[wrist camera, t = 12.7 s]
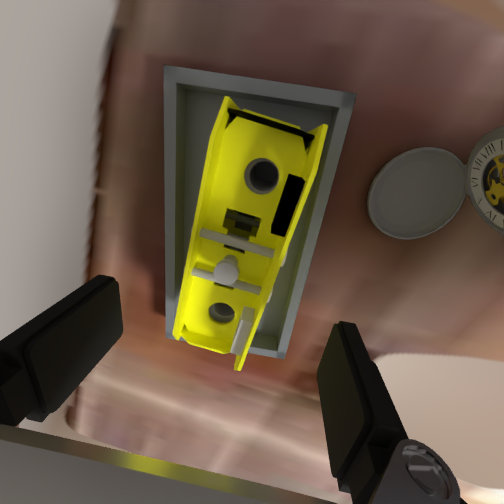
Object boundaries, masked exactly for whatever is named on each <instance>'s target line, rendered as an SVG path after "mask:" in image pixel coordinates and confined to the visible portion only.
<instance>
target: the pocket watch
mask: <svg viewBox="0 0 504 504" xmlns="http://www.w3.org/2000/svg"><path fill="white" fill-rule="evenodd" d="M503 160H504V126H501V127H499V128H496V129H494V130H492V131H491V132H489V133H487V134H486V135H484V136H482V137H481V139H480V140H479V141H478V143H477V144H476V145H475V147H474V148H473V149H472V151H471V154H470V156H469V159H468V163H467V164H465V165H463V163H462V162H461V161H460V160H459V159H458V158H457V157H456V156H455V155H454V154H453V153H451V152H449V151H447V150H444V149H440V148H433V147H421V148H417V149H412V150H409V151H406V152H404V153H402V154H400V155H398V156H396V157H394V158H393V159H392V160H391V161H389V162H388V163H387V164H385V165H384V166H383V168H382V169H381V170H380V171H379V173H378V174H377V175H376V176H375V178H374V180H373V182H372V184H371V186H370V188H369V192H368V196H367V208H368V214H369V216H370V218H371V220H372V222H373V224H374V225H375V226H376V227H377V228H378V229H379V230H380V231H382V232H383V233H384V234H386V235H388V236H390V237H393V238H397V239H405V240H407V239H416V238H420V237H424V236H427V235H429V234H431V233H433V232H435V231H437V230H439V229H441V228H442V227H443V226H445V225H446V224H447V223H448V222H449V221H450V220H452V218H453V217H454V216H455V215H456V213H457V212H458V211H459V209H460V208H461V206H462V203H463V201H464V199H465V196H466V195H469V197H470V200H471V203H472V205H473V206H474V208H475V209H476V211H477V213H478V214H479V215H480V217H481V218H482V219H483V220H484V221H485V222H486V223H487V224H488V225H489V226H490V227H491V228H493V229H494V230H496V231H497V232H499V233H500V234H502V235H503V236H504V177H502V168H504V163H502V162H503ZM499 175H500V178H499Z"/></svg>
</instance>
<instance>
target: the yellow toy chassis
mask: <svg viewBox="0 0 504 504" xmlns="http://www.w3.org/2000/svg"><path fill="white" fill-rule="evenodd" d="M327 128H328V125H326V124H322V125H320V126H318V127H317V128H315V129H313V130H311V131H309V132H305V131H302V130H301V129H300V127H299V126H296V125H293V124H290V123H287V122H284V121H281V120H278V119H275V118H271V117H268V116H265V115H262V114H259V113H256V112H253V111H250V110H246V109H243V110H242V111H241V110H240V109H239V107H238V106H237V105H236V104H235V103H234V102H233V101H232V99H231V98H230V97H228V96H225V97H224V100H223V103H222V105H221V108H220V111H219V113H218V116H217V119H216V122H215V124H214V127H213V130H212V132H211V135H210V139H209V144H208V150H207V155H206V160H205V165H204V171H203V176H202V181H201V186H200V192H199V197H198V202H197V207H196V213H195V218H194V223H193V226H192V229H191V239H190V244H189V249H188V254H187V260H186V265H185V267H184V270H183V273H184V275H183V281H182V286H181V291H180V296H179V302H178V307H177V312H176V317H175V323H174V328H173V333H172V334H173V336H174V337H175V339H176V340H179V339H180V337H181V336H182V337H183V338H184V339H185V340H186V341H187V342H188V343H189V344H191V345H194V346H198V347H201V348H205V349H208V350H212V351H215V352H219V353H222V354H226V353H233V354H236V360H235V366H234V370H238V371H241V368H242V366H243V363H244V360H245V358H246V355H247V353H248V350H249V347H250V345H251V342H252V340H253V337H254V334H255V332H256V329H257V326H258V324H259V321H260V319H261V316H262V313H263V311H264V308H265V306H266V303H268V302H269V301H270V298H271V295H272V291H273V285H274V282H275V280H276V277H277V274H278V272H279V269H280V267H282V266H283V265H284V262H285V260H286V257H287V252H288V246H289V243H290V241H291V238H292V235H293V233H294V230H295V228H296V225H297V222H298V220H299V217H300V215H301V212H302V209H303V207H304V204H305V202H306V199H307V196H308V194H309V191H310V189H311V186H312V183H313V181H314V178H315V176H316V173H317V170H318V166H319V162H320V157H321V153H322V149H323V145H324V141H325V136H326V132H327ZM261 161H266V162H270V163H271V164H273V165H274V166H275V167H276V169H277V171H278V172H277V175H276V177H275V178H274V179H273V180H272V181H270V182H263V181H261V180H259V179H258V178H257V176H256V173H255V168H256V165H257V163H258V162H261ZM303 186H304V188H303ZM302 189H303V191H302ZM301 192H302V194H301ZM300 194H301V197H300ZM299 197H300V200H299ZM298 200H299V202H298ZM297 203H298V204H297ZM234 210H236V211H239V212H242V213H246V214H249V215H252V216H255V217H259V218H260V219H259V218H255V219H253V218H249V217H246V216H243V215H240V214H238V212H236V211H234ZM236 221H238V222H241V223H244V224H248V225H251V226H253V227H252V230H251V232H249V231H245V230H242V229H239V228H236V227H234V226H235V223H236Z"/></svg>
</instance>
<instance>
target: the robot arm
mask: <svg viewBox="0 0 504 504" xmlns="http://www.w3.org/2000/svg"><path fill="white" fill-rule="evenodd" d="M122 333H123V322H122V312H121V303H120V293H119V284H118V282H117V281H116V280H115V278H114V277H110V276H105V275H97V276H96V277H94V278H93V279H91V280H90V281H88V282H87V283H85V284H84V285H82V286H81V287H79V288H78V289H76V290H75V291H73V292H72V293H70V294H69V295H67V296H66V297H65V298H63V299H62V300H60V301H59V302H57V303H56V304H54V305H53V306H51V307H50V308H48V309H47V310H45V311H44V312H42V313H41V314H39V315H38V316H36V317H35V318H33V319H32V320H30V321H29V322H28V323H26V324H24V325H23V326H21V327H20V328H19V329H17V330H15V331H14V332H13V333H11V334H10V335H8V336H7V337H5V338H4V339H2V340H1V341H0V504H337V503H334V502H330V501H327V500H323V499H319V498H315V497H311V496H307V495H304V494H300V493H296V492H292V491H288V490H284V489H280V488H277V487H272V486H268V485H264V484H260V483H256V482H251V481H247V480H243V479H239V478H235V477H230V476H226V475H222V474H218V473H214V472H210V471H205V470H201V469H197V468H193V467H188V466H184V465H180V464H176V463H171V462H167V461H163V460H158V459H154V458H150V457H146V456H141V455H137V454H133V453H128V452H124V451H120V450H115V449H111V448H107V447H102V446H98V445H93V444H89V443H85V442H80V441H75V440H71V439H67V438H62V437H58V436H54V435H49V434H45V433H40V432H36V431H32V430H27V429H22V428H19V423H20V422H21V421H22V420H23V419H24V418H25V417H26V418H27V419H29V420H33V421H37V422H43V421H44V420H45V418H46V417H47V416H48V415H49V414H50V413H53V412H55V411H56V410H57V409H58V408H59V407H60V406H61V405H62V404H63V403H64V401H65V400H66V399H67V398H68V397H69V396H70V394H71V393H72V392H73V391H74V390H75V389H76V388H77V386H78V385H79V384H80V383H81V382H82V381H83V380H84V378H85V377H86V376H87V375H88V374H89V373H90V372H91V370H92V369H93V368H94V367H95V366H96V365H97V363H98V362H99V361H100V360H101V359H102V358H103V357H104V355H105V354H106V353H107V352H108V351H109V350H110V349H111V347H112V346H113V345H114V344H115V343H116V342H117V340H118V339H119V338H120V337H121V335H122ZM317 381H318V388H319V394H320V401H321V407H322V414H323V421H324V427H325V434H326V441H327V447H328V454H329V461H330V467H331V473H332V476H333V477H335V478H337V481H338V487H339V491H342V492H346V493H350V494H351V497H352V502H353V504H467V503H466V502H465V501H464V500H463V499H462V498H461V497H460V488H459V485H458V483H457V480H456V478H455V476H454V475H453V473H452V471H451V469H450V468H449V466H448V465H447V464H446V463H445V462H444V461H443V459H442V458H441V457H440V456H439V455H438V454H437V453H436V452H435V451H433V450H432V449H431V448H429V447H428V446H426V445H425V444H423V443H421V442H419V441H416V440H413V439H409V438H408V436H407V434H406V432H405V429H404V427H403V425H402V422H401V420H400V418H399V415H398V413H397V411H396V409H395V406H394V404H393V402H392V399H391V397H390V395H389V393H388V390H387V388H386V386H385V383H384V381H383V379H382V377H381V374H380V372H379V370H378V367H377V366H376V364H375V363H374V362H373V361H371V360H370V357H369V355H368V352H367V350H366V348H365V345H364V343H363V340H362V338H361V336H360V333H359V331H358V328H357V326H356V324H354V323H349V322H344V321H340V322H339V323H338V324H334V326H333V328H332V331H331V334H330V336H329V339H328V342H327V345H326V347H325V350H324V353H323V356H322V359H321V361H320V364H319V367H318V370H317Z"/></svg>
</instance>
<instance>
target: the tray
mask: <svg viewBox="0 0 504 504" xmlns="http://www.w3.org/2000/svg"><path fill="white" fill-rule="evenodd" d="M163 67H164V183H165V298H166V338H170V339H175V337H174V336H173V334H172V333H173V328H174V323H175V317H176V312H177V307H178V302H179V296H180V291H181V286H182V281H183V275H184V273H183V270H184V267H185V265H186V260H187V254H188V249H189V244H190V239H191V229H192V226H193V223H194V218H195V213H196V207H197V202H198V197H199V192H200V186H201V181H202V176H203V171H204V165H205V160H206V155H207V150H208V144H209V139H210V135H211V132H212V130H213V127H214V124H215V122H216V119H217V116H218V113H219V111H220V108H221V105H222V103H223V100H224V97H225V96H228V97H230V98H231V99H232V101H233V102H234V103H235V104H236V105H237V106H238V107H239V109H240V110H241V111H242V110H243V109H246V110H250V111H253V112H256V113H259V114H262V115H265V116H268V117H271V118H275V119H278V120H281V121H284V122H287V123H290V124H293V125H296V126H299V127H300V129H301V130H302V131H305V132H309V131H311V130H313V129H315V128H317V127H318V126H320V125H322V124H326V125H328V128H327V132H326V136H325V141H324V145H323V149H322V153H321V157H320V162H319V166H318V170H317V173H316V176H315V178H314V181H313V183H312V186H311V189H310V191H309V194H308V196H307V199H306V202H305V204H304V207H303V209H302V212H301V215H300V217H299V220H298V222H297V225H296V228H295V230H294V233H293V235H292V238H291V241H290V243H289V246H288V252H287V257H286V260H285V262H284V265H283V266H282V267H280V269H279V272H278V274H277V277H276V280H275V282H274V285H273V291H272V295H271V298H270V301H269V302H268V303H266V306H265V308H264V311H263V313H262V316H261V319H260V321H259V324H258V326H257V329H256V332H255V334H254V337H253V340H252V342H251V345H250V347H249V350H248V353H253V354H258V355H264V356H269V357H275V358H281V359H284V358H285V355H286V351H287V348H288V344H289V340H290V337H291V333H292V329H293V326H294V322H295V318H296V315H297V311H298V307H299V304H300V300H301V296H302V293H303V289H304V286H305V282H306V278H307V275H308V271H309V267H310V264H311V260H312V256H313V253H314V249H315V245H316V242H317V238H318V235H319V231H320V227H321V224H322V220H323V216H324V213H325V209H326V205H327V202H328V198H329V194H330V191H331V187H332V183H333V180H334V176H335V173H336V169H337V165H338V162H339V158H340V154H341V151H342V147H343V143H344V140H345V136H346V132H347V129H348V125H349V122H350V118H351V114H352V111H353V107H354V103H355V100H356V96H357V93H350V92H344V91H337V90H330V89H323V88H317V87H310V86H303V85H297V84H290V83H283V82H276V81H270V80H263V79H256V78H250V77H243V76H236V75H229V74H223V73H216V72H209V71H203V70H196V69H189V68H182V67H176V66H169V65H163ZM277 172H278V171H277V169H276V167H275V166H274V165H273V164H271V163H270V162H266V161H261V162H258V163H257V165H256V168H255V173H256V176H257V178H258V179H259V180H261V181H263V182H270V181H272V180H273V179H274V178H275V177H276V175H277ZM303 188H304V186H303ZM302 191H303V189H302ZM301 194H302V192H301ZM301 194H300V197H301ZM300 197H299V200H300ZM299 200H298V202H299ZM297 204H298V203H297ZM234 211H236V210H234ZM236 212H238V214H240V215H243V216H246V217H249V218H253V219H255V218H259V217H255V216H252V215H249V214H246V213H242V212H239V211H236ZM259 219H260V218H259ZM234 227H236V228H239V229H242V230H245V231H249V232H251V230H252V227H253V226H251V225H248V224H244V223H241V222H238V221H236V223H235V226H234ZM175 340H176V339H175ZM179 340H181V341H186V340H185V339H184V338H183V337H182V336H181V337H180V339H179ZM186 342H187V341H186Z"/></svg>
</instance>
